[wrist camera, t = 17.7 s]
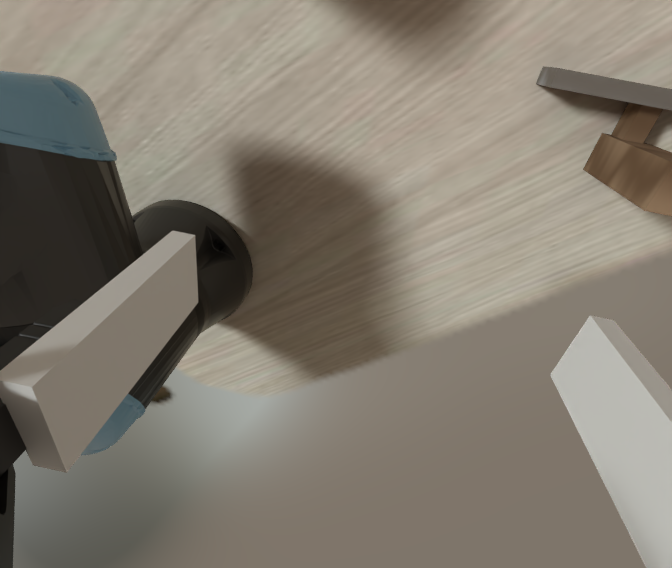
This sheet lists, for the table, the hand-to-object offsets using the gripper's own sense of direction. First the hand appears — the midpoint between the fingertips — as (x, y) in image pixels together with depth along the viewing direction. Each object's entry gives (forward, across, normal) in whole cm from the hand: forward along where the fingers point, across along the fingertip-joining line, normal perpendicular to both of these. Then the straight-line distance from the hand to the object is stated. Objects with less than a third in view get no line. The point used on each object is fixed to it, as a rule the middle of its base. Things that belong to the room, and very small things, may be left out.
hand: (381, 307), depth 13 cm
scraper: (+24, -18, -5) cm, 31 cm away
